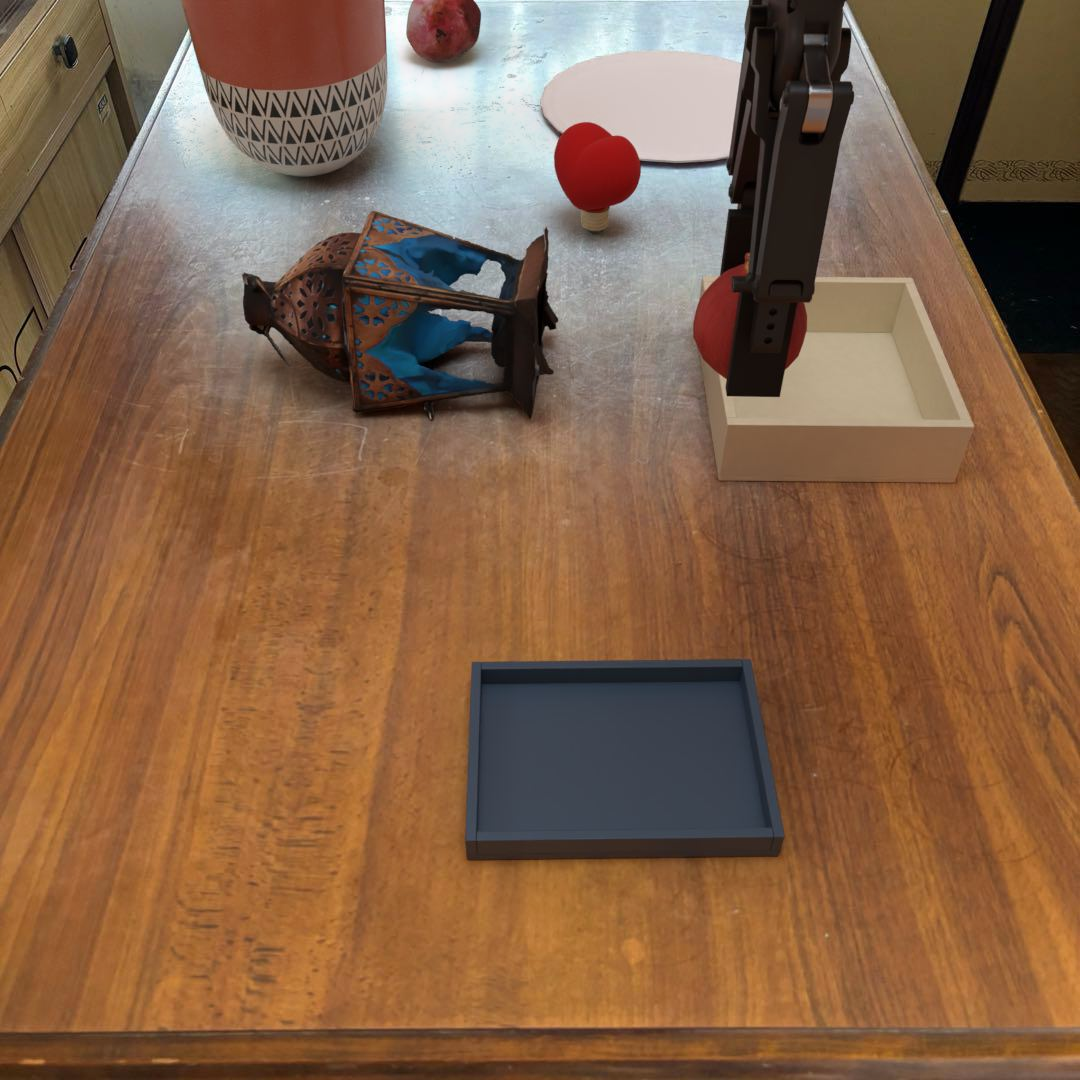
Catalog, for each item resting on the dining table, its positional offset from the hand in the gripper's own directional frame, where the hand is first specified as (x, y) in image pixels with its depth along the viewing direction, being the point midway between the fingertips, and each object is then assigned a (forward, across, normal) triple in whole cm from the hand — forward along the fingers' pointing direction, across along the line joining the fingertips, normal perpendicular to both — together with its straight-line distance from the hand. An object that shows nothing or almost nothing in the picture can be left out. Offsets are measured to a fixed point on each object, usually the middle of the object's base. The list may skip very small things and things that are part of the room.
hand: (745, 354), depth 59 cm
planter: (+20, -62, -37) cm, 75 cm away
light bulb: (+20, -49, -7) cm, 53 cm away
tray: (+21, +12, -6) cm, 25 cm away
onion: (+2, 0, 0) cm, 2 cm away
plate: (+20, -76, +2) cm, 79 cm away
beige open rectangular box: (+20, -23, +11) cm, 32 cm away
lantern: (+20, -26, -23) cm, 40 cm away
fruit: (+20, -91, -25) cm, 96 cm away
